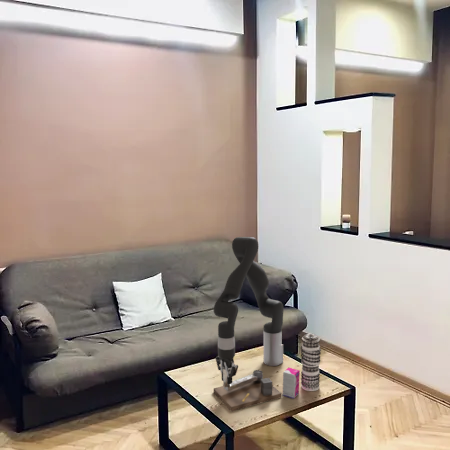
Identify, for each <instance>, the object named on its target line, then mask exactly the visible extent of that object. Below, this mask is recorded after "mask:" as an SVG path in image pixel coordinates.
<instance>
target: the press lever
mask: <svg viewBox="0 0 450 450" xmlns="http://www.w3.org/2000/svg"><path fill="white" fill-rule="evenodd" d="M229 369H230V368H229ZM229 374H230V371H229ZM263 374H264V373H263V371H262V370H260V369H255V370H253V372H252V373H251V374H248V375H245V376H243V377H240V378H238V379H234V380H232V383H231V384H227V372H226V370H225V368H223V381H222V382H223V383H222V386H224V389H225V390H227V391H230V390H233V389H235V388H238V387H241V386H243V385H246V384H248V383H251V382H255V383H261V379H263V378H264V375H263Z"/></svg>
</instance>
